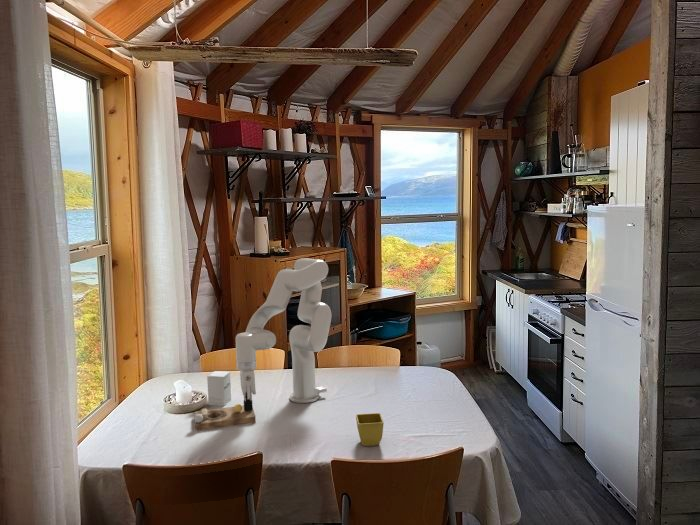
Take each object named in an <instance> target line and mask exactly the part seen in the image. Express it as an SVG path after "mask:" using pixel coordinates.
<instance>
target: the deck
mask: <svg viewBox="0 0 700 525" xmlns="http://www.w3.org/2000/svg"><path fill="white" fill-rule="evenodd" d="M241 406H242V410H241V412H239V413H237V412H235V411H234V406H230V407H220V408H214V409H213V408H212V409H207V408H208V407H207V408H206V407H205V408H201V410H198V411H195V413H194V414H195V415H197V414H201V415H202V416H203V420H202V421H201V422H200V423H197V422H195V431H196V430H198V431H203V430H202V429H206V430H211V429H212V428H213V429H219V428H226V427H234V426H241V425H250V424H256V420H257V419H256V414H255V411H254V409H253V410H252V411H244V405H241ZM213 429H212V430H213Z"/></svg>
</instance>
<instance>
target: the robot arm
mask: <svg viewBox="0 0 700 525" xmlns="http://www.w3.org/2000/svg"><path fill="white" fill-rule="evenodd" d="M328 273H329V266H328V264H327V263H326V261H324V260H323V259H316V258H315V259H314V258H308V257H303V258H302V257H301V258H298V259H296V261H295V262H294V265H293V269H291V268H284V269H281V270H279V271H278V273H277V274H276V276H275V279H274V280H273V281H274V282H273V284H272V286H271V288H270V291H269V293H268V296H267V297H266V298H267V299H266V300H265V302H264V303H263V304H262V305H260V307H259V308H258V309H257V310H256V311H255V312H254V313H253V314H252V316H251V318H250V319H249V321H248V324H247V327H246V329H245V332H240V333H237V334H236V336H235V354H236V355H235V357H236V358H235V359H236V361H235V362H236V370H237V371H239V377H240V378H239V379H240V387H241V392H242V396H243V406H244V411H252V410H254V406H253V396H255V395H256V394H257V392H256V377H255V375H256V374H255V370H256V369H257V351H266V350H270V349H272V348H273V347H274V346H275V345H276V342H277V337H276V334H275V333H273V332H272V331H270V330H267V329H264V327H265V325H266V324H267V322H268V321H269V320H270V319H271V318H272V317H274V316H276V315H278V314H281V313H284V311H285V310H287V306H288V304H289V302H290V299H291V296H292V294H293V292H301V295H300V299H299V304H298V308H297V318H298V320H300V321H302V322H304V323H307V324H310V326H308V325H304V324H299V325H298V324H297V325H295V326H293V327H292V328H291V329H290V331H289V334H288V340H289V345H290V351H291V359H292V360H291V361H292V362H291V365H292V390H293V392H292V393H291V394H290V395H289V400H290V401H291V402H294V403H296V404H297V403H299V404H308V403H313V402H316V401H318V400H319V398H320V393H327V387H323V386H318V387H317V386H316V365H315V364H316V363H315V362H316V360H315V353H317V352H321V351H322V350H323V349H324V348H325V346H326V344H327V341H328V336H329V332H330V328H331V322H332V317H333V316H332V314H333V313H332V311H331V307H330V306H329V305H328V304H327V303H324V302H321V299H322V292H323V288H322V282H321V281H323V280H325V279H326V277H327V276H328V275H329V274H328ZM314 352H315V353H314Z"/></svg>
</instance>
